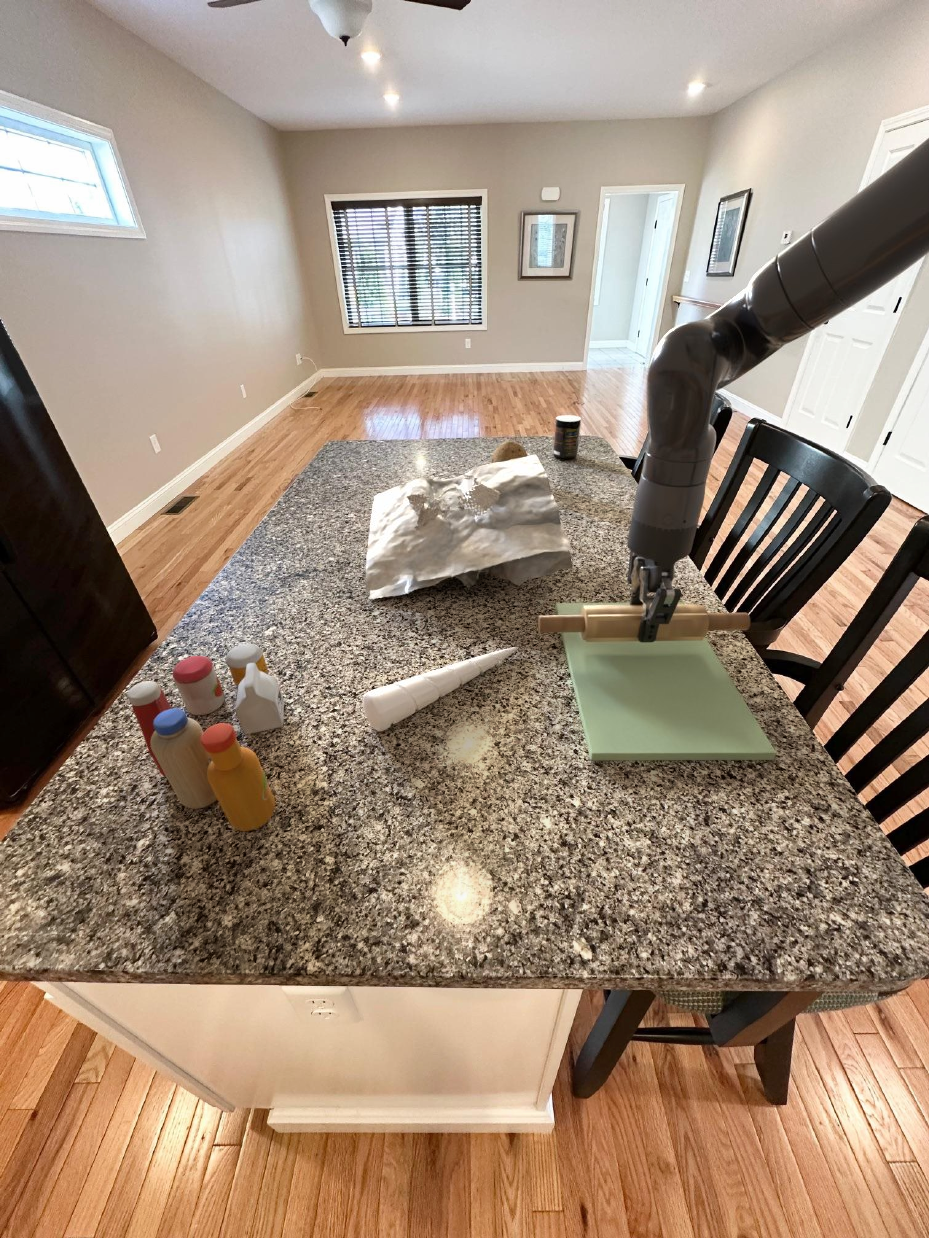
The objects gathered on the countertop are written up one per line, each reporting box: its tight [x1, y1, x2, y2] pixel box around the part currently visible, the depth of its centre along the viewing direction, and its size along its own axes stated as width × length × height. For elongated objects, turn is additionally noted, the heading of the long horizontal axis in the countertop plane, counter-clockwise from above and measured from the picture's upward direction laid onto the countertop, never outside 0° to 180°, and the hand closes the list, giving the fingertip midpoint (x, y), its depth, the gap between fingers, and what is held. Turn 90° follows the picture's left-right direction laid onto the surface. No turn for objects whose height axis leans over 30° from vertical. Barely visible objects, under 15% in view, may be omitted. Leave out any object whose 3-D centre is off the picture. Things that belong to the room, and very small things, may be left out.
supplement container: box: [552, 414, 582, 462], centre depth 140 cm, size 7×7×10 cm
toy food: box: [126, 643, 285, 832], centre depth 57 cm, size 27×13×12 cm, turn 15°
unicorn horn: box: [361, 646, 520, 732], centre depth 65 cm, size 5×24×5 cm, turn 124°
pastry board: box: [554, 601, 777, 761], centre depth 69 cm, size 30×20×1 cm, turn 179°
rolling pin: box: [537, 603, 751, 642], centre depth 70 cm, size 28×5×5 cm, turn 89°
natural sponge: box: [490, 440, 528, 464], centre depth 125 cm, size 9×9×10 cm
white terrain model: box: [365, 454, 573, 600], centre depth 95 cm, size 35×16×32 cm
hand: (640, 628), depth 71 cm, fingers closed on rolling pin, 4 cm apart
